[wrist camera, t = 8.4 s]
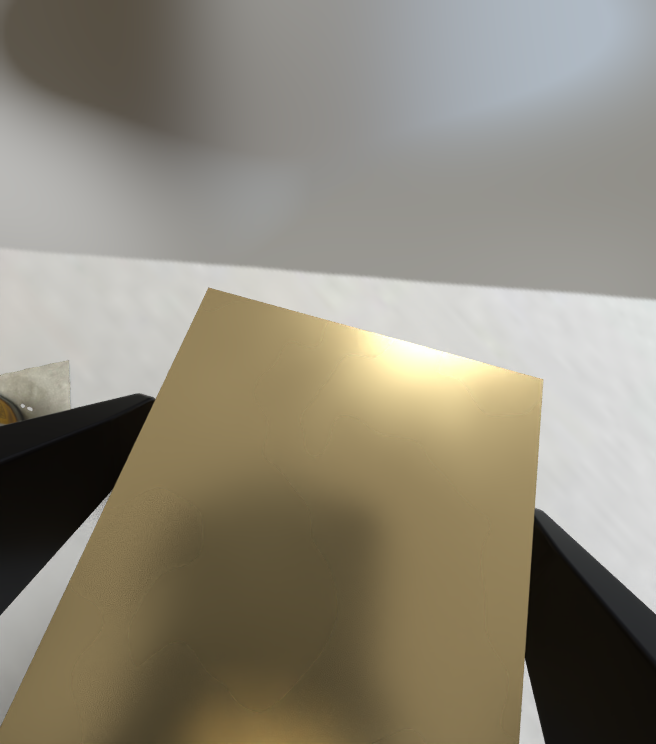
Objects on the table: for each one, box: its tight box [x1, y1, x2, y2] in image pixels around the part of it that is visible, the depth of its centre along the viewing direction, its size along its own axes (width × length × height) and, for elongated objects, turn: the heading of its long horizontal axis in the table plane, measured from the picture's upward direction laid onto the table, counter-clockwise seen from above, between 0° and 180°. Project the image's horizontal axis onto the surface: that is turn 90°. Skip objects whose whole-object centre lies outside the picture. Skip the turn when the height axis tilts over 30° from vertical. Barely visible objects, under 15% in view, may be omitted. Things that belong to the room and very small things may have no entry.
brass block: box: [0, 288, 543, 744], centre depth 10 cm, size 6×5×12 cm
